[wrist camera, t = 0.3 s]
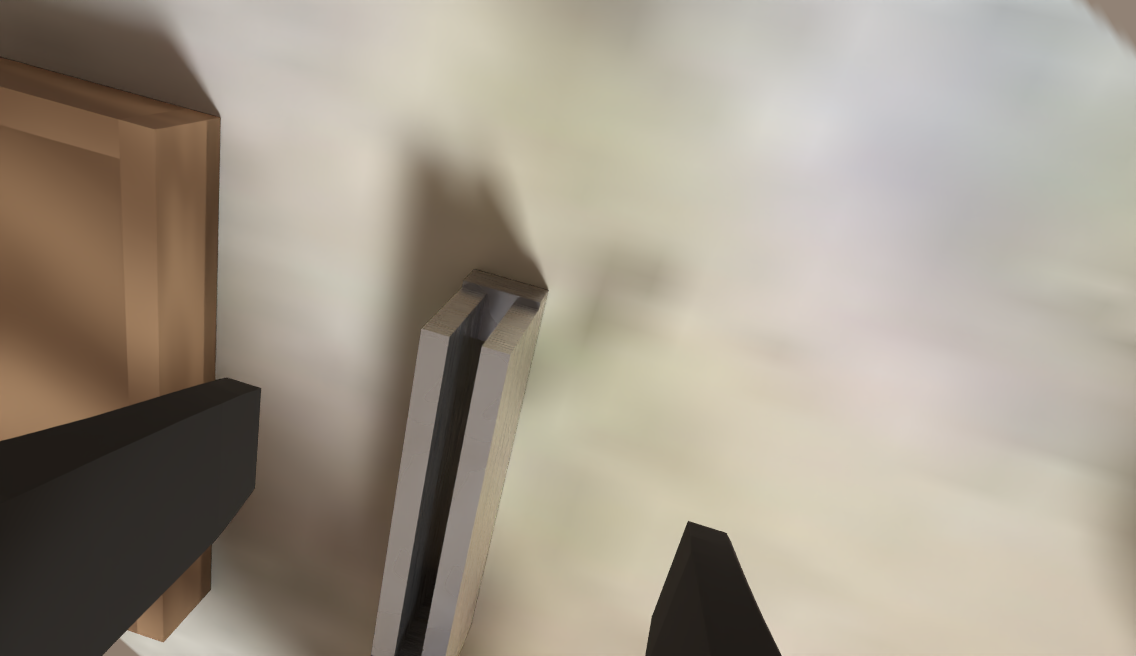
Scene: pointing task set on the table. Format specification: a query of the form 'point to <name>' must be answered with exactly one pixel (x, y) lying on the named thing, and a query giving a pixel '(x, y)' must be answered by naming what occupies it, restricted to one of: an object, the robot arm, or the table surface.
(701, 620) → the robot arm
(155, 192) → the wooden tray
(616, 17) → the table surface
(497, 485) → the slotted metal channel
